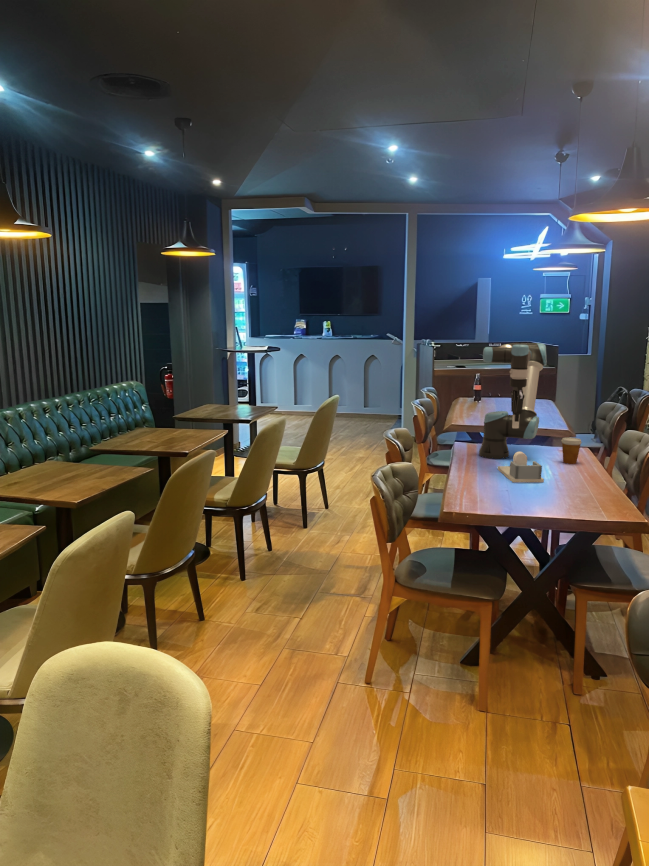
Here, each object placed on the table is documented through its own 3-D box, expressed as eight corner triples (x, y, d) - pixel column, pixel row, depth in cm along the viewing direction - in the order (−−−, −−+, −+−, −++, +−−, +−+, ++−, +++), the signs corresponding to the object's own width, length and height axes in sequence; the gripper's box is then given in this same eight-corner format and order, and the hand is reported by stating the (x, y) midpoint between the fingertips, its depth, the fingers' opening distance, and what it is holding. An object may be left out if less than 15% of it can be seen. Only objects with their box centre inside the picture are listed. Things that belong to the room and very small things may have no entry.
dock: (497, 469, 299) (498, 454, 297) (526, 469, 299) (527, 454, 297) (512, 482, 276) (513, 465, 275) (543, 482, 276) (544, 465, 275)
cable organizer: (521, 470, 290) (523, 450, 288) (528, 476, 280) (530, 454, 278) (510, 470, 290) (511, 450, 288) (516, 476, 280) (518, 454, 278)
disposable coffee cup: (578, 460, 315) (580, 437, 313) (581, 465, 306) (583, 441, 304) (558, 459, 318) (560, 436, 315) (560, 464, 309) (562, 440, 306)
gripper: (506, 376, 296) (503, 425, 300) (514, 379, 283) (511, 430, 287) (521, 376, 296) (518, 425, 300) (531, 379, 283) (527, 430, 288)
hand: (515, 427), depth 294 cm, fingers closed
